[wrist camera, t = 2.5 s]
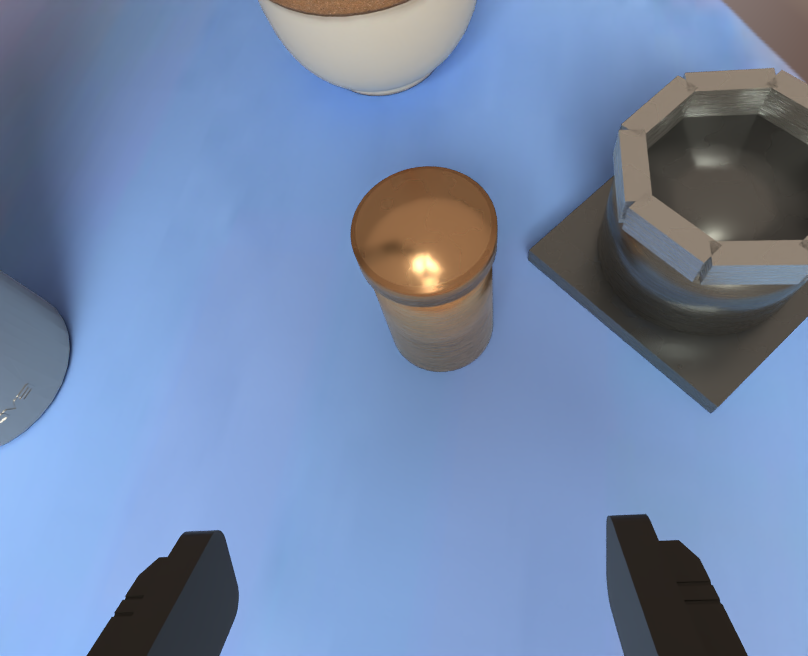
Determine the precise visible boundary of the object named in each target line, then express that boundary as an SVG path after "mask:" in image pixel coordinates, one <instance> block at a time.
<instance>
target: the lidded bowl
mask: <svg viewBox="0 0 808 656" xmlns="http://www.w3.org/2000/svg"><path fill="white" fill-rule="evenodd" d="M476 1H477V0H258V2H259V4H260V6H261V8H262V11H263V12H264V14H265V16H266V18H267V19H268V21H269V23H270V25H271V26H272V28H273V30H274V31H275V33H276V35H277V36H278V38H279V39H280V41H281V42H282V43H283V45H284V46H285V48H286V49H287V50H288V51H289V52H290V54H291V55H292V56H293V57H294V58H295V59H296V60H297V61H298V62H299V63H300V64H301V65H302V66H304V67H305V68H306V69H307V70H309V71H310V72H311V73H313V74H314V75H316V76H317V77H319V78H321V79H322V80H324V81H326V82H329V83H331V84H333V85H336V86H339V87H342V88H345V89H349V90H351V91H353V92H356V93H359V94H364V95H370V96H382V95H391V94H395V93H399V92H402V91H405V90H407V89H410V88H412V87H414V86H416V85H417V84H419V83H420V82H422V81H423V80H424V79H425V78H427V77H428V76H429V75H430V74H431V73H432V72H433V70H434V69H435V68H437V67H438V66H439V65H440V64H441V63H442V62H443V61H445V60H446V58H447V57H448V56H449V55H450V54H451V53H452V51H453V50H454V49H455V47H456V46H457V45H458V43H459V42H460V40H461V38H462V37H463V35H464V33H465V31H466V29H467V27H468V24H469V22H470V20H471V17H472V14H473V12H474V9H475V5H476Z"/></svg>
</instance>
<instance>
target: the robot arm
mask: <svg viewBox="0 0 808 656" xmlns="http://www.w3.org/2000/svg"><path fill="white" fill-rule="evenodd" d="M69 352H70V345H69V335H68V331H67V328H66V325H65V322H64V320H63V318H62V317H61V315H60V314H59V312H58V311H57V310H56V308H55V307H53V306H52V305H51V304H50V303H48V302H47V301H46V300H45V299H43V298H42V297H40V296H39V295H37V294H36V293H34V292H33V291H31V290H30V289H28V288H27V287H25V286H23V285H22V284H20V283H19V282H17V281H16V280H14V279H13V278H11V277H10V276H8V275H7V274H5V273H4V272H2V271H1V270H0V446H2V445H4V444H7V443H8V442H10V441H11V440H13V439H14V438H16V437H17V436H19V435H20V434H22V433H23V432H25V431H26V430H27V429H28V428H29V427H30V426H31V425H32V424H33V423H34V422H35V421H36V420H37V419H39V418H40V416H41V415H42V414H43V413H44V411H45V410H46V409H47V407H48V406H49V405H50V404H51V402H52V401H53V399H54V397H55V395H56V393H57V392H58V390H59V388H60V386H61V384H62V382H63V379H64V376H65V373H66V370H67V367H68V360H69ZM606 575H607V589H608V596H609V602H610V607H611V611H612V614H613V618H614V621H615V625H616V628H617V632H618V635H619V639H620V642H621V646H622V650H623V653H624V656H748V655H747V653H746V651H745V649H744V647H743V645H742V643H741V641H740V639H739V637H738V635H737V633H736V631H735V629H734V627H733V625H732V623H731V621H730V619H729V617H728V615H727V613H726V611H725V609H724V607H723V605H722V604H721V603H720V599H719V597H718V595H717V593H716V591H715V589H714V587H713V585H711V581H710V579H709V577H708V575H707V573H706V571H705V569H704V567H703V565H702V563H701V561H700V559H699V558H698V557H697V556H696V555H695V554H694V553H693V552H691V551H690V550H689V549H688V548H687V547H686V546H685V545H684V544H683V543H681V542H680V541H679V540H671V541H659V540H658V538H657V535H656V533H655V531H654V528H653V526H652V524H651V521H650V519H649V517H648V516H647V515H646V514H638V515H614V516H608V517H607V524H606ZM125 597H126V598H125V600H122V602H121V603H120V605H119V607H118V608H117V610H116V611H115V616H114V617H111V619H110V620H109V622H108V624H107V625H106V627H105V628H104V630H103V631H102V633H101V634H100V636H99V637H98V639H97V641H96V642H95V644H94V645H93V647H92V648H91V650H90V651H89V653H88V654H87V656H219V655H220V653H221V651H222V648H223V646H224V643H225V641H226V639H227V636H228V634H229V631H230V629H231V627H232V624H233V622H234V619H235V617H236V613H237V609H238V601H239V592H238V585H237V581H236V577H235V573H234V570H233V566H232V562H231V558H230V555H229V551H228V547H227V543H226V539H225V536H224V534H223V533H222V532H221V531H219V530H214V531H189V532H184V533H183V534H182V535H181V536H180V538H179V539H178V541H177V543H176V544H175V546H174V548H173V549H172V551H171V552H170V554H169V556H168V557H159V558H158V559H157V560H156V561H155V562H153V563H152V564H151V565H150V566H149V567H148V568H147V569H145V570H144V571H143V572H142V573H141V574H140V575H139V576H138V577H137V579H136V580H135V582H134V583H133V585H132V586H131V588H130V590H129V591H128V593H127V594H126V596H125Z"/></svg>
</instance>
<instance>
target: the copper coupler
mask: <svg viewBox="0 0 808 656" xmlns="http://www.w3.org/2000/svg"><path fill="white" fill-rule="evenodd" d="M351 244H352V248H353V251H354V254H355V257H356V259H357V262H358V264H359V266H360V269H361V271H362V273H363V275H364V277H365V279H366V280H367V282H368V283H369V284H370V285H371V286H372V287H373V289H374V291H375V293H376V296H377V298H378V301H379V303H380V306H381V309H382V311H383V314H384V316H385V319H386V321H387V324H388V327H389V329H390V332H391V334H392V337H393V339H394V342H395V344H396V346H397V348H398V350H399V351H400V353H401V354H402V355H403V356H404V357H405V358H406V359H407V360H408V361H409V362H411V363H412V364H414V365H415V366H417V367H419V368H422V369H425V370H429V371H435V372H447V371H453V370H456V369H460V368H462V367H464V366H466V365H468V364H470V363H471V362H473V361H474V360H475V359H477V358H478V357H479V356H480V355H481V354H482V352H483V351H484V350H485V348H486V346H487V345H488V343H489V340H490V338H491V334H492V329H493V292H492V264H493V262H494V259H495V255H496V251H497V216H496V212H495V208H494V206H493V203H492V201H491V199H490V197H489V196H488V194H487V193H486V192H485V190H484V189H483V188H482V187H481V186H480V185H479V184H478V183H477V182H475V181H474V180H473V179H471V178H470V177H468V176H466V175H464V174H462V173H460V172H457V171H455V170H451V169H447V168H442V167H430V166H425V167H416V168H411V169H406V170H403V171H400V172H397V173H395V174H393V175H391V176H389V177H387V178H385V179H383V180H382V181H381V182H379V183H378V184H376V185H375V186H374V187H373V188H372V189H371V190H370V191H369V192H368V193H367V194H366V195H365V196H364V198H363V199H362V201H361V202H360V204H359V205H358V207H357V209H356V211H355V214H354V217H353V220H352V225H351Z"/></svg>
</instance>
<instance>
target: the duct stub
mask: <svg viewBox="0 0 808 656" xmlns="http://www.w3.org/2000/svg"><path fill="white" fill-rule="evenodd" d="M613 163H614V176H613V177H612V178H611V179H609V180H608V181H607V182H606V183H605V184H604V185H603V186H601V187H600V188H599V189H598V190H597V191H596V192H595V193H593V194H592V195H591V196H590V197H589V198H588V199H587V200H586V201H584V202H583V203H582V204H581V205H580V206H579V207H578V208H576V209H575V210H574V211H573V212H572V213H571V214H570V215H568V216H567V217H566V218H565V219H564V220H563V221H562V222H561V223H559V224H558V225H557V226H556V227H555V228H554V229H553V230H551V231H550V232H549V233H548V234H547V235H546V236H545V237H544V238H542V239H541V240H540V241H539V242H538V243H537V244H536V245H534V246H533V247H532V248H531V249H530V250H529V258H528V260H529V261H530V262H531V263H532V264H533V265H535V266H536V267H537V268H538V269H539V270H541V271H542V272H543V273H544V274H545V275H547V276H548V277H549V278H550V279H551V280H552V281H554V282H555V283H556V284H557V285H558V286H560V287H561V288H562V289H563V290H564V291H566V292H567V293H568V294H569V295H570V296H572V297H573V298H574V299H575V300H576V301H577V302H579V303H580V304H581V305H582V306H583V307H585V308H586V309H587V310H588V311H589V312H591V313H592V314H593V315H594V316H595V317H597V318H598V319H599V320H600V321H601V322H602V323H604V324H605V325H606V326H607V327H608V328H610V329H611V330H612V331H613V332H614V333H616V334H617V335H618V336H619V337H620V338H622V339H623V340H624V341H625V342H626V343H627V344H629V345H630V346H631V347H632V348H633V349H635V350H636V351H637V352H638V353H639V354H641V355H642V356H643V357H644V358H645V359H647V360H648V361H649V362H650V363H651V364H652V365H654V366H655V367H656V368H657V369H658V370H660V371H661V372H662V373H663V374H664V375H666V376H667V377H668V378H669V379H670V380H672V381H673V382H674V383H675V384H676V385H677V386H679V387H680V388H681V389H682V390H683V391H685V392H686V393H687V394H688V395H689V396H691V397H692V398H693V399H694V400H695V401H697V402H698V403H699V404H700V405H701V406H702V407H704V408H705V409H706V410H707V411H708V412H710V413H712V412H713V411H714V410H715V409H716V408H717V407H718V406H719V405H720V404H721V403H722V402H723V401H724V400H725V399H726V398H727V397H728V396H729V395H730V394H731V393H732V392H733V391H734V390H735V389H736V388H737V387H738V386H739V385H740V384H741V383H742V382H743V381H744V380H745V379H746V378H747V377H748V376H749V375H750V374H751V373H752V372H753V371H754V370H755V369H756V368H757V367H758V366H759V365H760V364H761V363H762V362H763V361H764V360H765V359H766V358H767V357H768V356H769V355H770V354H771V353H772V352H773V351H774V350H775V349H776V348H777V347H778V346H779V345H780V344H781V343H782V342H783V341H784V340H785V339H786V338H787V337H788V336H789V335H790V334H791V333H792V332H793V331H794V330H795V329H796V328H797V327H798V326H799V325H800V324H801V323H802V322H803V321H804V320H805V319H806V318H807V317H808V84H806V83H804V82H803V81H801V80H799V79H797V78H796V77H794V76H792V75H790V74H788V73H787V72H785V71H783V70H781V71H780V72H779V73H778V74H777V75H775V70H774V68H767V69H748V70H729V71H710V72H691V73H685V74H684V77H683V78H682V77H680V76H677V77H676V78H675V79H673V80H672V81H671V82H670V83H669V84H668V85H666V86H665V87H664V88H663V89H662V90H661V91H659V92H658V93H657V94H656V95H655V96H654V97H653V98H651V99H650V100H649V101H648V102H647V103H646V104H644V105H643V106H642V107H641V108H640V109H639V110H637V111H636V112H635V113H634V114H633V115H632V116H631V117H629V118H628V119H627V120H626V121H625V122H624V123H622V124H621V128H620V130H619V132H618V136H617V140H616V144H615V147H614V151H613Z"/></svg>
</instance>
